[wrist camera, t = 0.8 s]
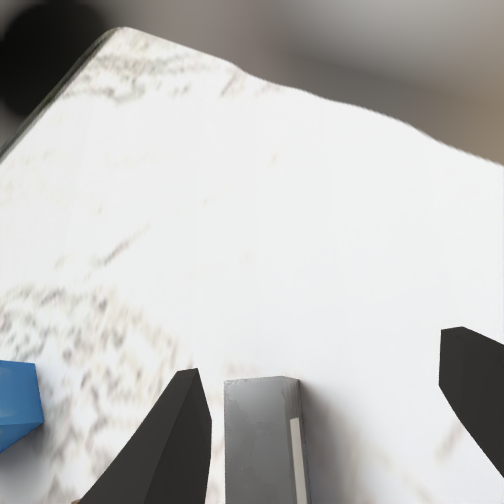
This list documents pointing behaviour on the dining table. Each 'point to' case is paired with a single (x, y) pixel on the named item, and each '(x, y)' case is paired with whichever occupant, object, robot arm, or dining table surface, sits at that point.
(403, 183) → the dining table surface
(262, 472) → the block
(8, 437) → the perfume bottle
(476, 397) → the robot arm
